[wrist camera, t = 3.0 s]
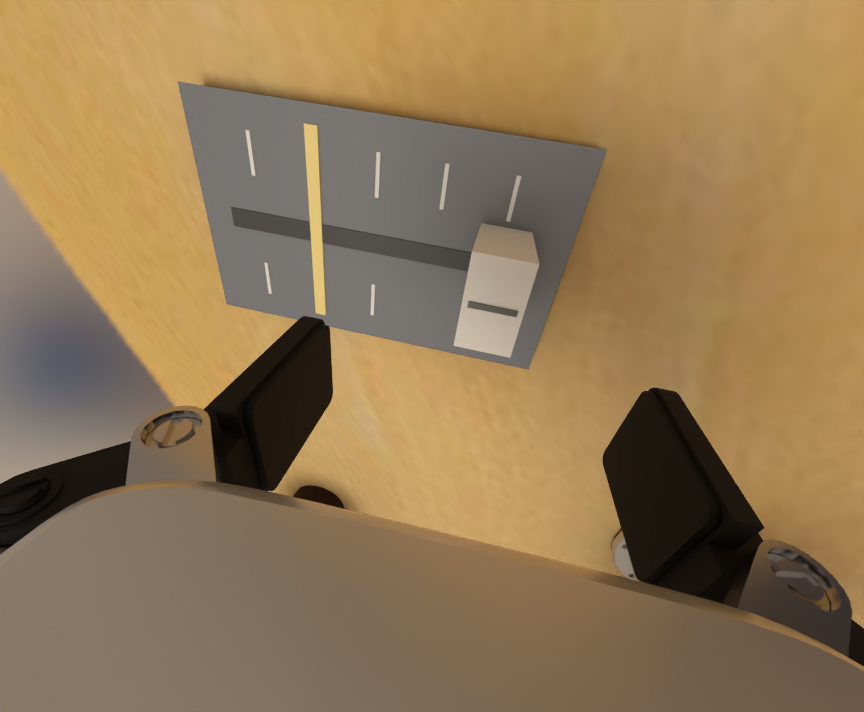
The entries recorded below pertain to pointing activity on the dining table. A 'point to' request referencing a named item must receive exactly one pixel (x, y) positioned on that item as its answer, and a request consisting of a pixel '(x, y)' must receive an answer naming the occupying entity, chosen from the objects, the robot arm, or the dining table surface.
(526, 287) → the fader cap
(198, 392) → the dining table surface
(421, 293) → the console board
